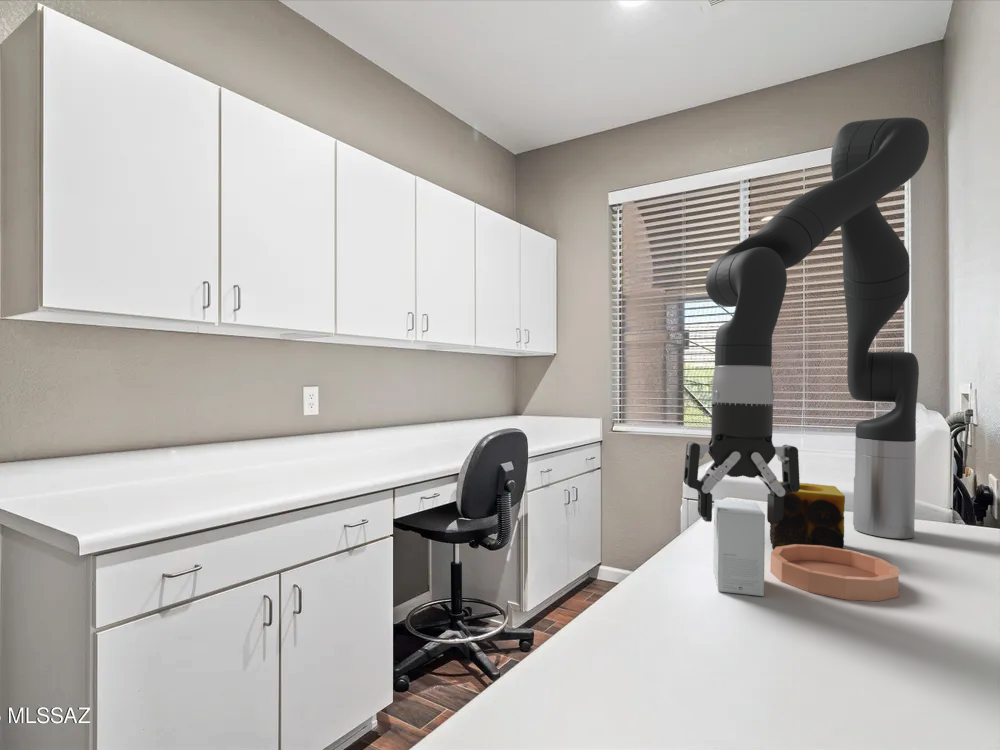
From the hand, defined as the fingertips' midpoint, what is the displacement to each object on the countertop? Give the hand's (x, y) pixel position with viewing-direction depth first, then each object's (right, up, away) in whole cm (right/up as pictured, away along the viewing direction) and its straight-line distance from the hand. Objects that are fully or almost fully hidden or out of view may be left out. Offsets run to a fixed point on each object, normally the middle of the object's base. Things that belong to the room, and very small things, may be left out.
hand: (739, 521), depth 76 cm
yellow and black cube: (+19, -9, +19) cm, 28 cm away
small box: (0, -9, 0) cm, 9 cm away
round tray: (+14, -9, +3) cm, 17 cm away
